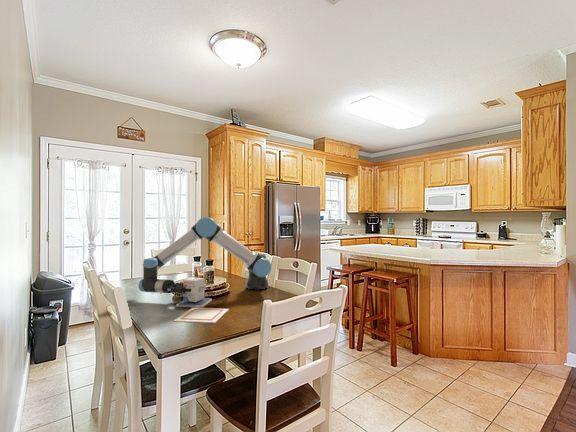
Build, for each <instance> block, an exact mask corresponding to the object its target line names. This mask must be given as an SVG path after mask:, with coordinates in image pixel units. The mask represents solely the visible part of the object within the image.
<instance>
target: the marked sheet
mask: <svg viewBox="0 0 576 432" xmlns="http://www.w3.org/2000/svg"><path fill="white" fill-rule="evenodd" d="M228 311H230V308H218V307H217V308H213V307H211V308H210V307H202V308H200V307H190V309H188V310H187V311H185V312H184V313H182V314H181V315H180V316H178V317H177V318H176V319H174V320H173V322H181V323H207V324H215V323H217V322H218V321H219V320H220V319H221V318H222V317H223V316H224V315H225V314H226V313H227V312H228Z"/></svg>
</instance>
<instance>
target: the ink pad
mask: <svg viewBox="0 0 576 432" xmlns="http://www.w3.org/2000/svg"><path fill="white" fill-rule="evenodd" d="M212 301H213V299H212V298H210V297H204V299H202V300H199V301H197V302H190V301H183V300H182V301H179V302H178V303H176V304H175V308H205V306H206V305H208V304H209V303H210V302H212Z"/></svg>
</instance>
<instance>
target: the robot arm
mask: <svg viewBox="0 0 576 432" xmlns="http://www.w3.org/2000/svg"><path fill="white" fill-rule="evenodd" d="M223 229H224V228H223V226H222V225H220V224H219V223H218V222H217V221H215V220H214V219H213V218H212V217H208V216H203V217H201V218H199V219H198V220H197V222H196V223H195V224H194V225H192V226H191V228H190V230H189V231H188V232H186V233H185V234H183V235H182V236H181V237H179V238H178V239H177V240H175V241H174V242H173V243H171V244H170V245H168V246H167V247H165V249H163V250H162V251H160V252H159V253H158V254H157V255H155V256H154V257H147V258H144V259H143V263H142V267H143V269H142V271H143V272H142V273H143V276H142V277H143V278H141V279H140V280H139V282H138V290H139V291H140V292H143V293H155V294H156V293H158V294H161V295H162V294H172V293H176V294H177V293H178V294H185V292H189V293H198V288H195V287H186V288H185V287H183V281H181V282H175V281H174V280H173V279H158V271H159V269H160V268H162V267H164V266H165V265H166V264H167V263H168V262H170V261H172V260H173V259H174V258H176V256H178V255H179V254H181V253H182V252H183V251H184V250H186V249H188V248H189V247H190V246H192V245H193V244H194V243H196V242H197V241H199V240H202V239H203V238H205V240H207V241H208V242H210V243H212V242H213V243H216V244H217V245H218V246H220V247H221V248H222V249H224V250H226V251H227V252H228V253H230V254H231V255H232V256H234V257H235V258H237V259H238V260H239V261H241V262H242V263H243V264H244V265H245V267H246V269H248V278H247V281H246V285H245V287H246V289H247V288H248V289H247V290H249V289H255V290H254V291H260V290H259V289H264V290H266V289H265V288H267V289H269V288H268V287H270V286H269V281H268V279H267V277H268V275H269V274H270V273H271V271H272V263H271V262H270V260H269V259H267V255H266V254H265V253H259V252H253V251H252V250H250V249H249V248H248V247H246V246H245V245H244V244H242V243H241V242H240V241H238V240H237V239H236V238H234V237H233V236H231V235H230V234H229V233H227V232H226V231H224V230H223ZM206 288H207V283H205V286H204V290H206Z"/></svg>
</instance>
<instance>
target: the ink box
mask: <svg viewBox="0 0 576 432" xmlns="http://www.w3.org/2000/svg"><path fill="white" fill-rule="evenodd" d="M205 279H206V278H204V277H203V278H202V277H193V276H192V277H189V278H186V279H182V280H183V281H182V282H183V287H185V288H186V287H195V288H198V293H189V292H185V294H183V293H182V294H183V295H182V299H183V300H182V301H190V302H197V301H199V300H202V299H204V298H205V289H204V286H205V284H206V281H205Z"/></svg>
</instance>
